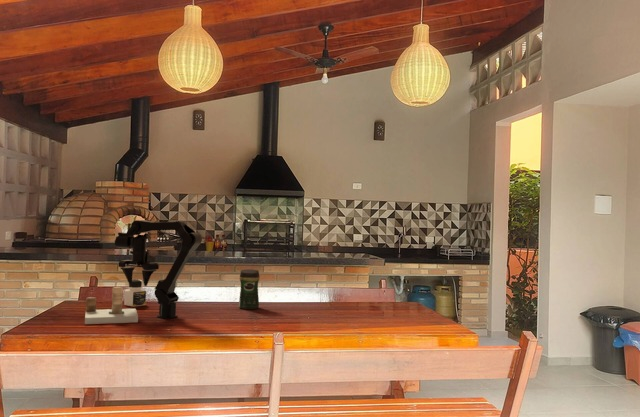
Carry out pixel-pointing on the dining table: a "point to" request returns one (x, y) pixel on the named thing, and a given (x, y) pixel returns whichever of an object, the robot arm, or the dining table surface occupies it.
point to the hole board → (111, 316)
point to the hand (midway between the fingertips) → (137, 284)
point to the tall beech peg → (117, 300)
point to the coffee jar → (249, 289)
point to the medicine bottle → (135, 294)
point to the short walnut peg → (91, 304)
